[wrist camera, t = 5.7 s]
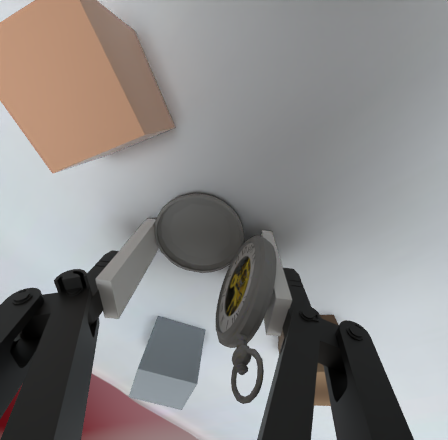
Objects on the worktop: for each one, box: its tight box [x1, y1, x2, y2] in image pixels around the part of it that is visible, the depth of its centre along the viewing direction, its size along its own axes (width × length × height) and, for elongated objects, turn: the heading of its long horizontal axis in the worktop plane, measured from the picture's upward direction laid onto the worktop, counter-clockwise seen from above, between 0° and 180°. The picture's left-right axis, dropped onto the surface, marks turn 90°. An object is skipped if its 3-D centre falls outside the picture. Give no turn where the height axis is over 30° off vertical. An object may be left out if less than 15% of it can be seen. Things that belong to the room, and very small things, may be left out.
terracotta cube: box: [0, 0, 175, 173], centre depth 11 cm, size 5×5×5 cm
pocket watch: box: [154, 193, 277, 404], centre depth 12 cm, size 8×8×10 cm
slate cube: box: [129, 316, 205, 410], centre depth 21 cm, size 5×5×5 cm
